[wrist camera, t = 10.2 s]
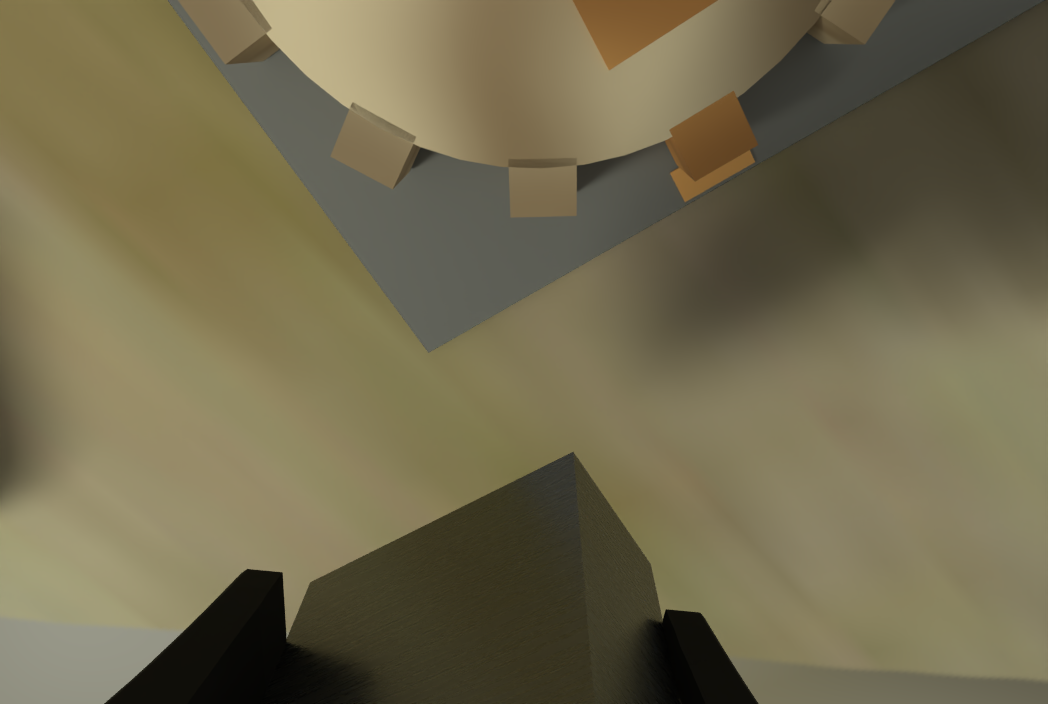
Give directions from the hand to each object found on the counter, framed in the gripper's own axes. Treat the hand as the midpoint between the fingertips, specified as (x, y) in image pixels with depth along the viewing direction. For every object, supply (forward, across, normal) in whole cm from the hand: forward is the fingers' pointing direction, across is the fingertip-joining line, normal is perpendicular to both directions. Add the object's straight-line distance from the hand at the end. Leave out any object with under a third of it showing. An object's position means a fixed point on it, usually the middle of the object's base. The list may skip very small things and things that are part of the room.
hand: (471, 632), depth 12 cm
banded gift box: (+1, 0, 0) cm, 1 cm away
